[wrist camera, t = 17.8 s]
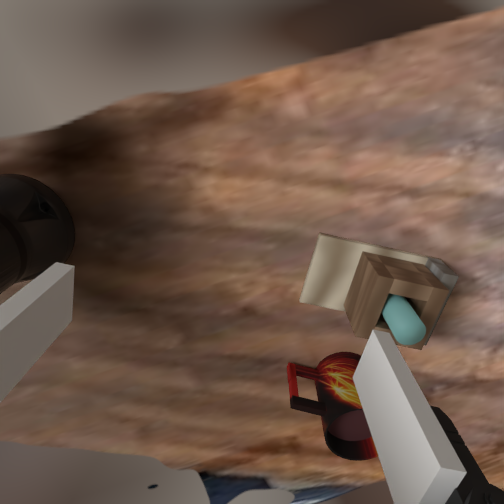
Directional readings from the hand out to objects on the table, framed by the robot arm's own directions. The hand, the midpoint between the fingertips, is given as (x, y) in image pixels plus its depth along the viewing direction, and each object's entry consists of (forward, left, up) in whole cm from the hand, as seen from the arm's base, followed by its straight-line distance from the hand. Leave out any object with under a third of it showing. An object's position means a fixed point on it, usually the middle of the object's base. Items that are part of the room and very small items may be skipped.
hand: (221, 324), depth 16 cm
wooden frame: (+20, -11, -36) cm, 43 cm away
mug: (+20, -30, -36) cm, 51 cm away
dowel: (+22, -11, -35) cm, 43 cm away
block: (+22, -11, -35) cm, 43 cm away
